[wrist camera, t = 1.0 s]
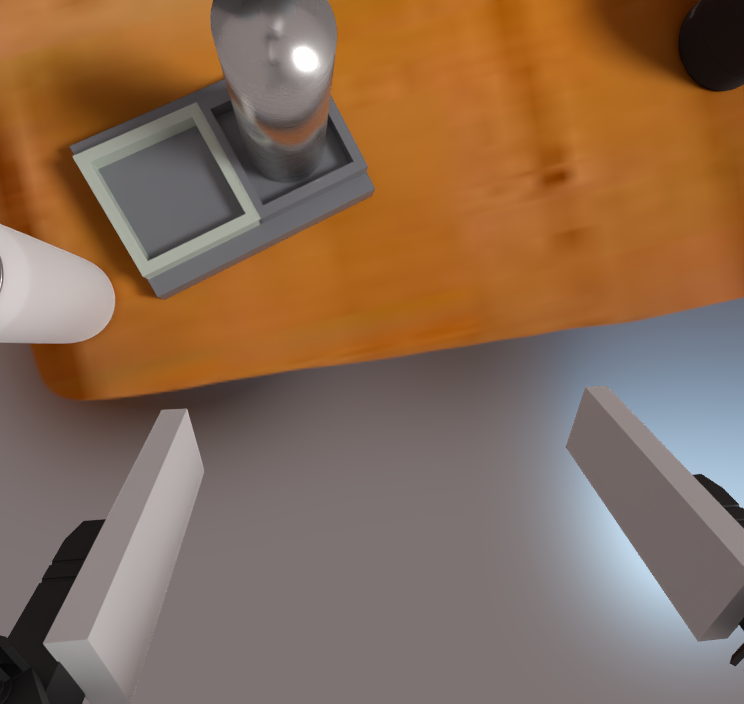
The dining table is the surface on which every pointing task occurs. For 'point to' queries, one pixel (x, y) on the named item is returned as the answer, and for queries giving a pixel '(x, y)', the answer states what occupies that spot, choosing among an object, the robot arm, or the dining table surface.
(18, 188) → the dining table surface
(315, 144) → the seated cylinder
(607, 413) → the robot arm
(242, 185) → the pocket board
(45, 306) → the can
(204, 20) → the dining table surface
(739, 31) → the pen holder
